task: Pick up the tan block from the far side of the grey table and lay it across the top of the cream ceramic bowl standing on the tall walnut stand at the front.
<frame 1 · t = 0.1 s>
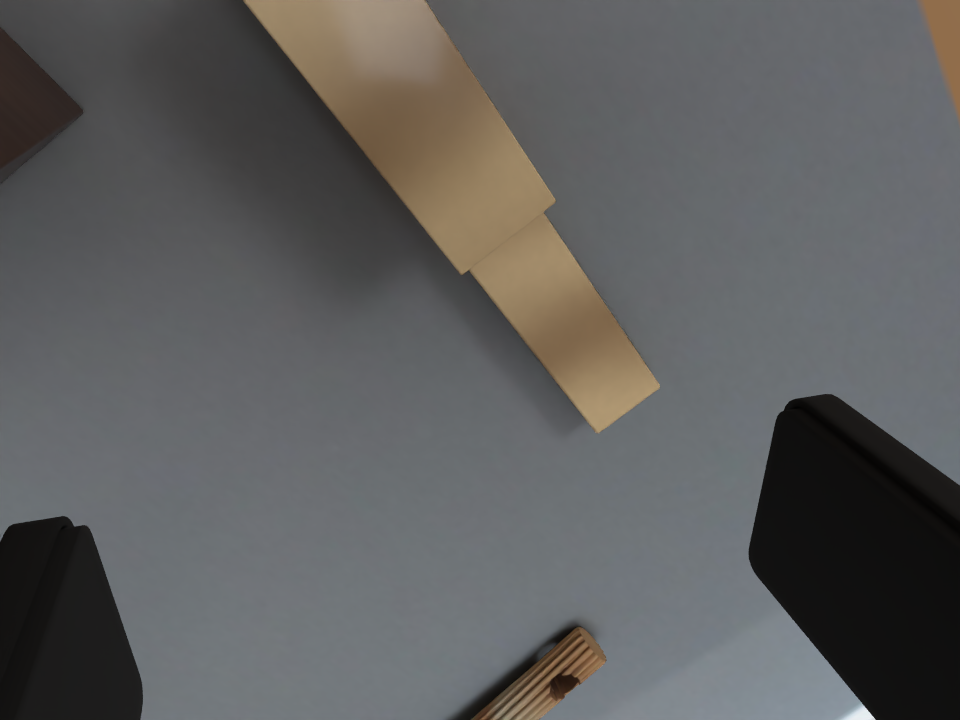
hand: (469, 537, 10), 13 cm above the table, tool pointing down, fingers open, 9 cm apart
tan block: (480, 209, 22), on the table
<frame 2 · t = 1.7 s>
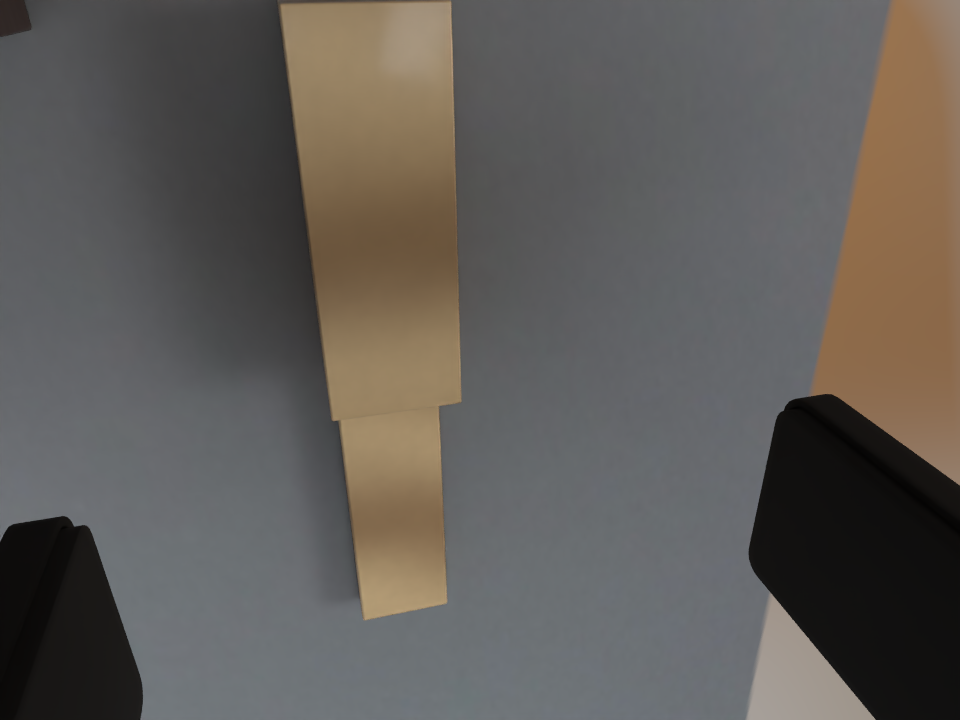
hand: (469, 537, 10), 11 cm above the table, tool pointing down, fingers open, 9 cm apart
tan block: (381, 356, 20), on the table
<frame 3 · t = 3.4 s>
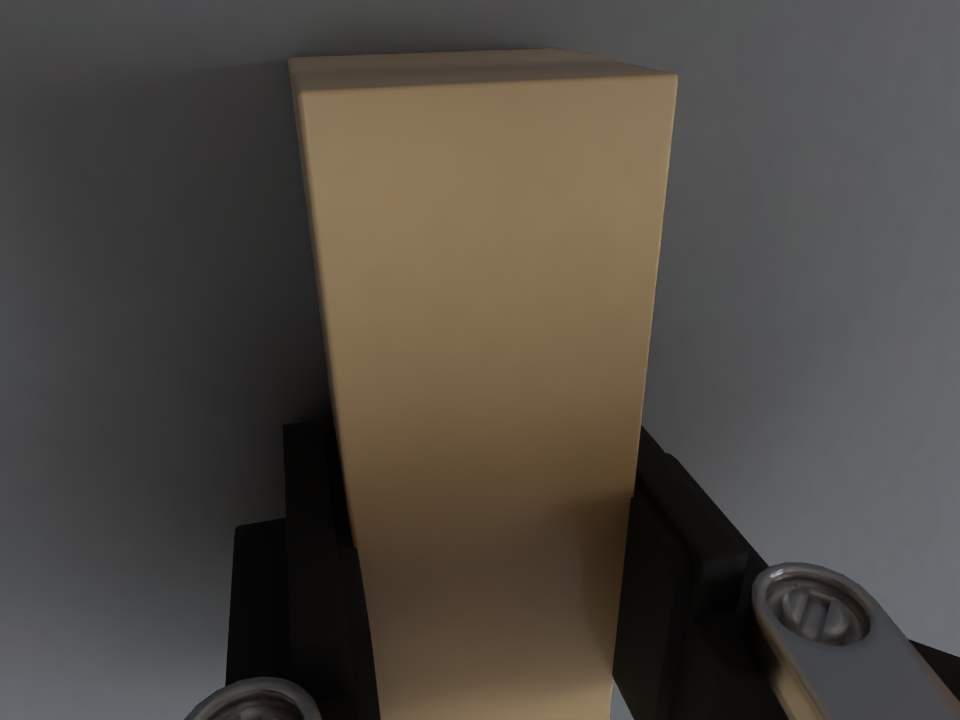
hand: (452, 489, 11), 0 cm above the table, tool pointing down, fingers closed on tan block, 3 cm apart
tan block: (452, 612, 13), on the table, touching gripper
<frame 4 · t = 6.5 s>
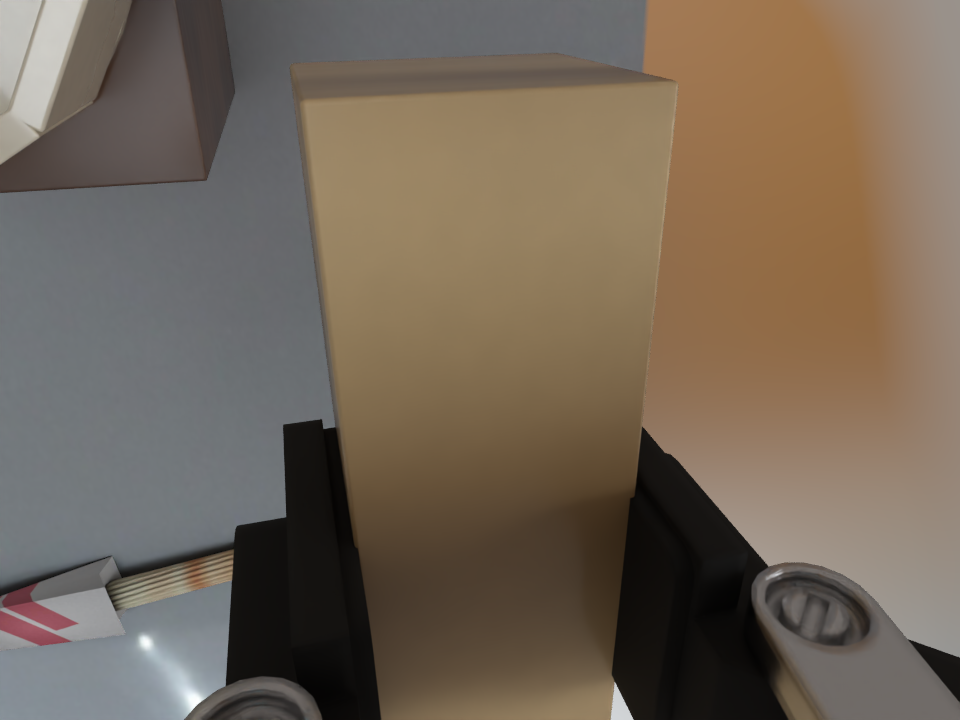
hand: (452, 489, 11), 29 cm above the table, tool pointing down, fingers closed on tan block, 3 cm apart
paintbrush: (127, 575, 44), on the table
tan block: (453, 614, 13), point 28 cm above the table, touching gripper
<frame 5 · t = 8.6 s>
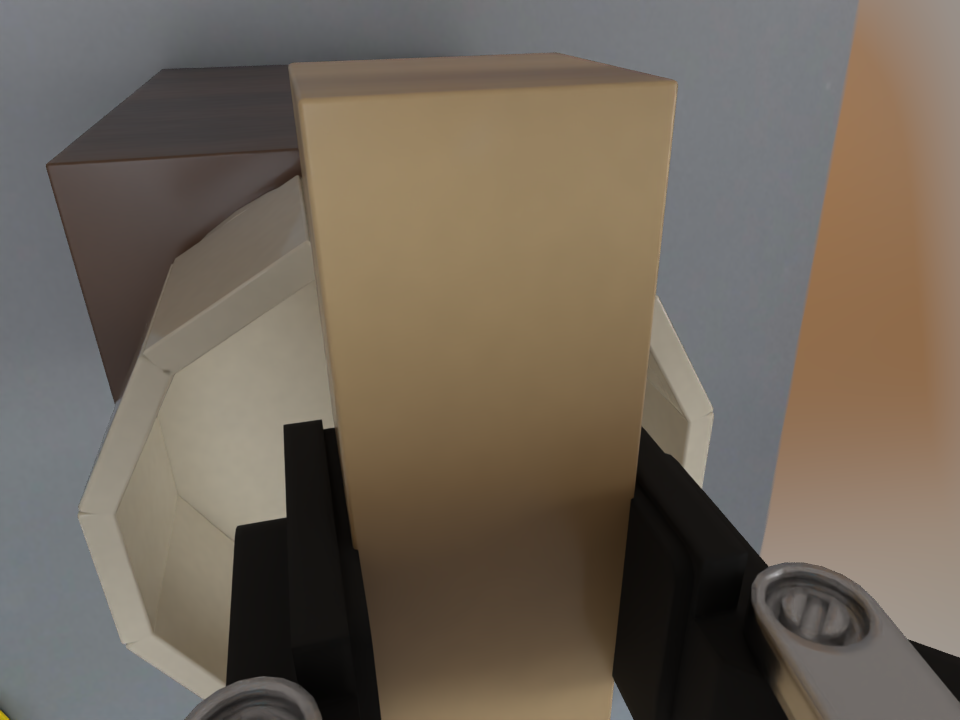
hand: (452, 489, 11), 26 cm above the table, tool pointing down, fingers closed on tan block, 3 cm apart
bowl: (393, 400, 19), resting on stand
stand: (337, 210, 34), on the table
tan block: (453, 615, 13), point 25 cm above the table, touching gripper
when the fingers open (23 cm above the table, at t = 9.6 s): tan block stays where it is, resting on bowl.
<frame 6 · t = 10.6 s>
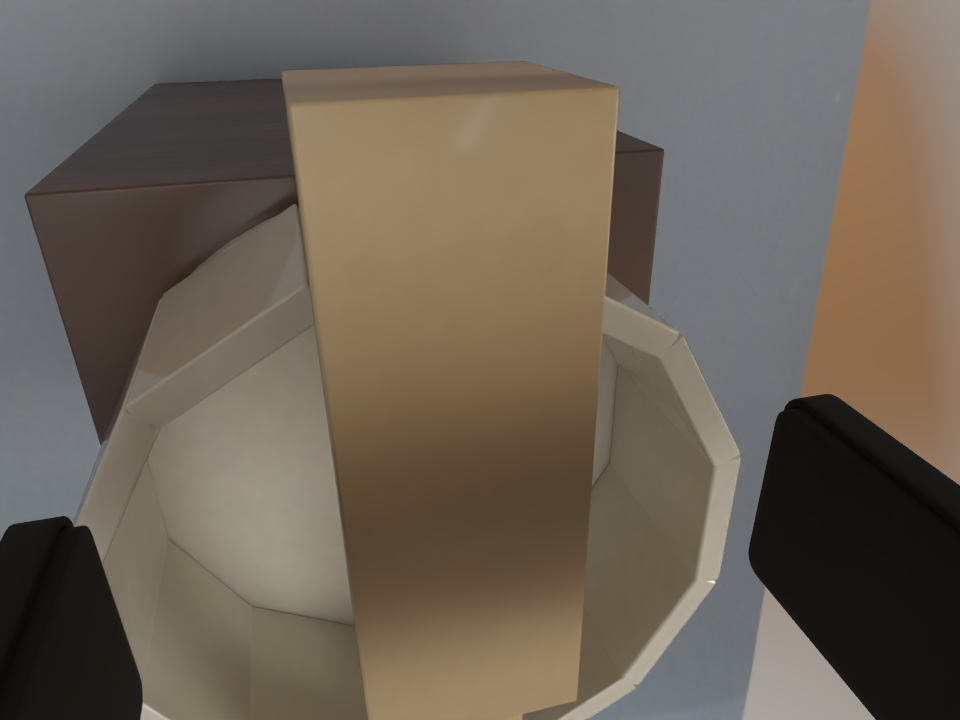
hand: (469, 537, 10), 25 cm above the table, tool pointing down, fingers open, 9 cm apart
bowl: (396, 436, 18), resting on stand
stand: (335, 227, 33), on the table
tan block: (437, 584, 13), point 23 cm above the table, touching bowl
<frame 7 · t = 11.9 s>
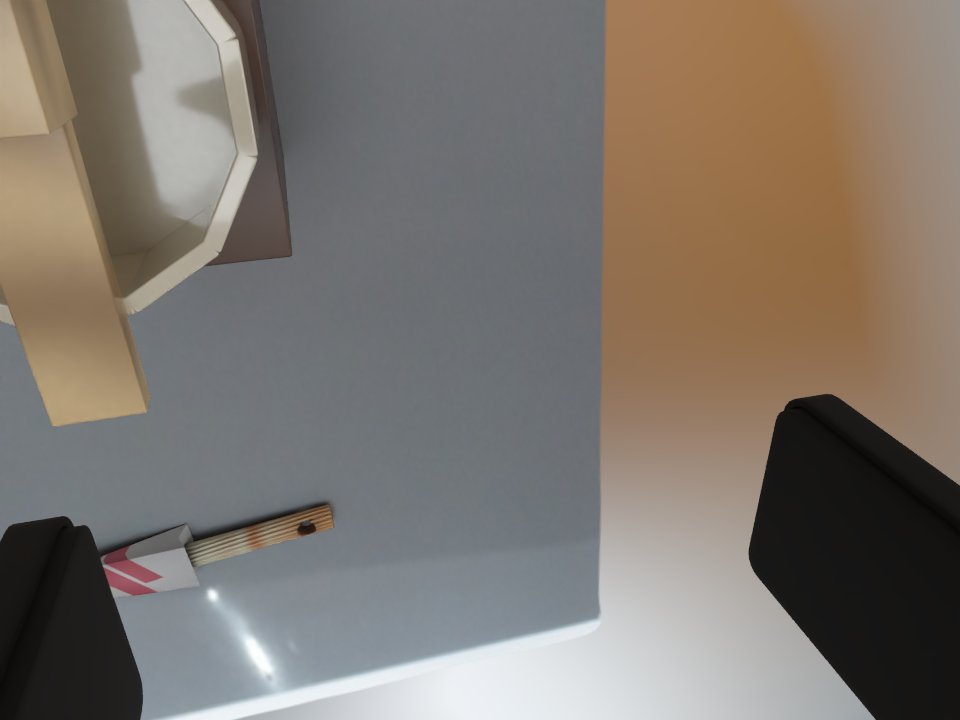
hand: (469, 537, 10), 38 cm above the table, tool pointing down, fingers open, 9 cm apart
bowl: (59, 91, 24), resting on stand
paintbrush: (198, 539, 54), on the table
stand: (142, 48, 39), on the table
tan block: (14, 119, 19), point 23 cm above the table, touching bowl
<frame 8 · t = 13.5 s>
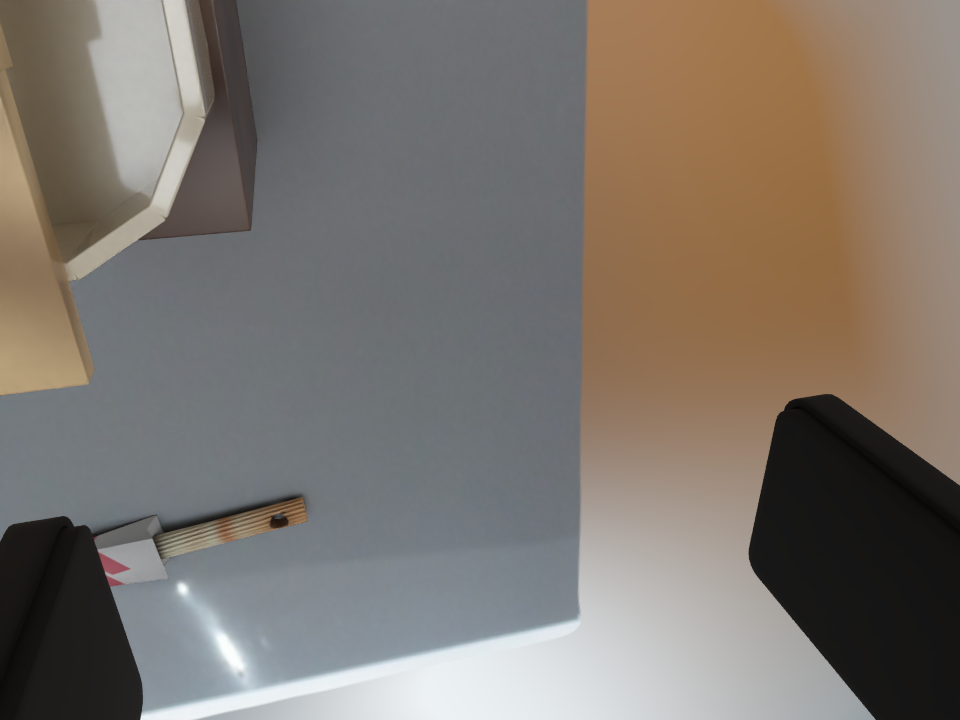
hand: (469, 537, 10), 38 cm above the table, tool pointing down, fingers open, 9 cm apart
bowl: (5, 50, 23), resting on stand
paintbrush: (168, 531, 53), on the table
stand: (111, 23, 38), on the table
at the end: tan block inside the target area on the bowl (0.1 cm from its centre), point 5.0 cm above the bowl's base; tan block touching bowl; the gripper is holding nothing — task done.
